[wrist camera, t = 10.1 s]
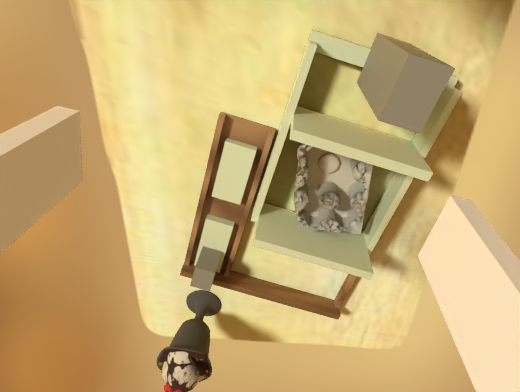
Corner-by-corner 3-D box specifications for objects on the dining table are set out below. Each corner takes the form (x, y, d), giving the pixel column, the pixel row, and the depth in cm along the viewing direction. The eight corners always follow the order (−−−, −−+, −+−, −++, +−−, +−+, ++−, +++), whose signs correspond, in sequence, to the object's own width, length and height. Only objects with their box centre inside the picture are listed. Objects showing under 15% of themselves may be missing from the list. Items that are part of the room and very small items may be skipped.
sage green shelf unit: (317, 12, 33) (324, 25, 22) (463, 60, 33) (536, 95, 23) (253, 206, 43) (238, 276, 33) (365, 239, 44) (385, 318, 34)
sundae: (180, 315, 54) (142, 419, 41) (181, 281, 51) (140, 383, 38) (224, 323, 54) (200, 430, 41) (228, 289, 51) (203, 394, 38)
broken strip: (226, 137, 39) (217, 156, 35) (257, 147, 40) (252, 167, 35) (195, 260, 48) (185, 287, 44) (220, 267, 48) (213, 295, 44)
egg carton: (297, 128, 38) (296, 143, 35) (371, 131, 38) (378, 146, 34) (292, 215, 43) (291, 236, 40) (357, 219, 43) (362, 240, 39)
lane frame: (220, 111, 38) (216, 118, 36) (412, 170, 39) (418, 181, 37) (185, 262, 49) (180, 275, 47) (336, 305, 50) (338, 319, 48)
